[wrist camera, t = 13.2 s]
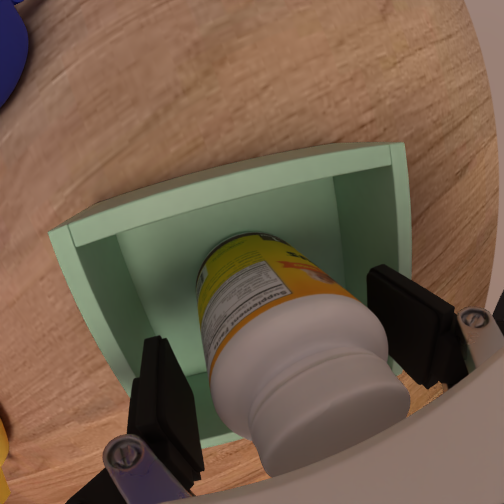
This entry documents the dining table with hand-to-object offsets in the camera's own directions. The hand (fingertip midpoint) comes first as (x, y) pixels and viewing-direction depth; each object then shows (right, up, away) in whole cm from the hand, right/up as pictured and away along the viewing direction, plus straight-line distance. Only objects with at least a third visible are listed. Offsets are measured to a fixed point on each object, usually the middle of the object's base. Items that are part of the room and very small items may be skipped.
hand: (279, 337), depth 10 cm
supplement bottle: (-1, +2, +5) cm, 5 cm away
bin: (-1, +2, +5) cm, 6 cm away
